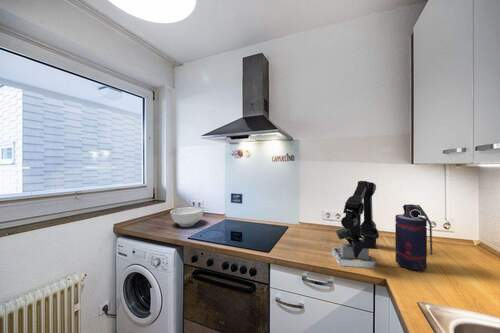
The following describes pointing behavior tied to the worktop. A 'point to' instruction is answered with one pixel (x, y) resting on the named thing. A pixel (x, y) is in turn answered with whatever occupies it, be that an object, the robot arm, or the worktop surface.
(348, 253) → the panel
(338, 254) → the rack
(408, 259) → the grenade
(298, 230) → the worktop surface
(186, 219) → the decorative bowl
